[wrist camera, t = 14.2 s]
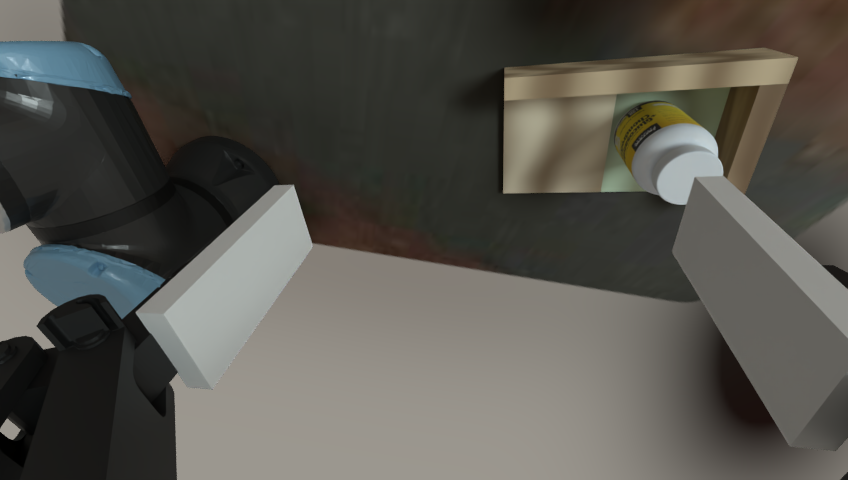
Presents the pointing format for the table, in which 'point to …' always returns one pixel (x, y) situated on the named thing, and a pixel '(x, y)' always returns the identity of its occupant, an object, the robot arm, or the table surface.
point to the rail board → (621, 91)
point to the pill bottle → (666, 149)
